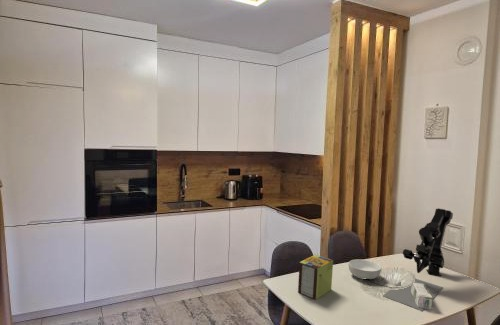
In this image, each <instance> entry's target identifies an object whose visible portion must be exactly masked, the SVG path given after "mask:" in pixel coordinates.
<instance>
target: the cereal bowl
mask: <svg viewBox="0 0 500 325" xmlns="http://www.w3.org/2000/svg"><path fill="white" fill-rule="evenodd" d="M348 270H349V272H350V273H351V274H352V275H353V276H355V277H356V278H358V279H360V280H363V279H362V278H366V279H370V280H374V279H376V278H378V277H380V275H381V272H382V268H381V265H380V264H378V263H377V262H374V261H371V260H367V259H357V258H356V259H351V260H350V261H348ZM363 281H364V280H363Z"/></svg>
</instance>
